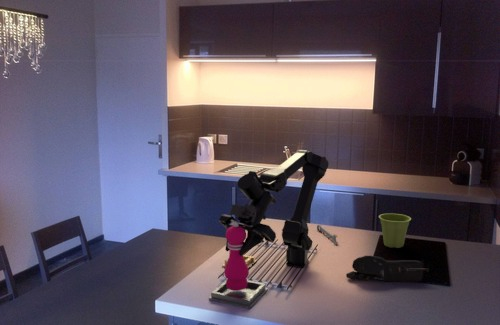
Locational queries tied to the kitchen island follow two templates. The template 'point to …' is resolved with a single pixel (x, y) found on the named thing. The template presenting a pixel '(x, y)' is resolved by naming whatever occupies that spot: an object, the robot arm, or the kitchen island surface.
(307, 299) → the kitchen island surface
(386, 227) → the plant pot
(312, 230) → the kitchen island surface
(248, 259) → the brass square tray
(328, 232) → the combination wrench
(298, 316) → the kitchen island surface
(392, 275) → the black glove
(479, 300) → the kitchen island surface
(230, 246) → the pepper mill
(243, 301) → the graphite square tray
